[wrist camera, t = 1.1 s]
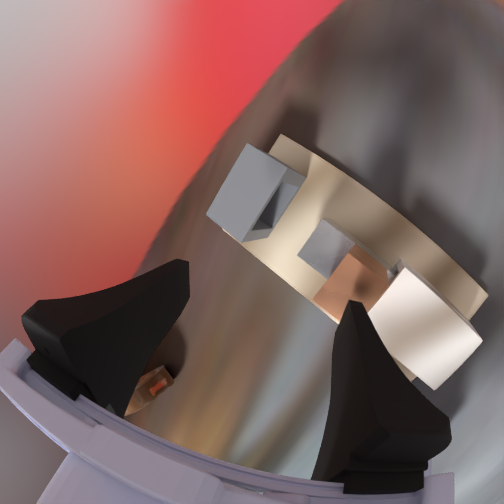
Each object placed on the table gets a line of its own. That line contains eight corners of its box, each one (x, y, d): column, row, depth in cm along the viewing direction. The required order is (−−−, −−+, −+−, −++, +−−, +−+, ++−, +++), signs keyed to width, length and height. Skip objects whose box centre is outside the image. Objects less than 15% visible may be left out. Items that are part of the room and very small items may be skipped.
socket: (306, 177, 21) (287, 168, 17) (267, 237, 24) (240, 242, 19) (273, 156, 22) (247, 142, 18) (237, 214, 25) (206, 214, 20)
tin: (174, 358, 31) (124, 387, 24) (188, 379, 31) (141, 412, 23) (126, 384, 38) (87, 405, 30) (137, 400, 37) (99, 423, 30)
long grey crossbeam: (461, 329, 16) (488, 377, 10) (436, 356, 17) (451, 413, 11) (330, 218, 20) (304, 219, 14) (307, 250, 21) (271, 266, 15)
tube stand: (486, 293, 16) (510, 314, 11) (409, 379, 20) (412, 415, 15) (283, 135, 22) (256, 116, 18) (226, 229, 26) (189, 232, 21)
